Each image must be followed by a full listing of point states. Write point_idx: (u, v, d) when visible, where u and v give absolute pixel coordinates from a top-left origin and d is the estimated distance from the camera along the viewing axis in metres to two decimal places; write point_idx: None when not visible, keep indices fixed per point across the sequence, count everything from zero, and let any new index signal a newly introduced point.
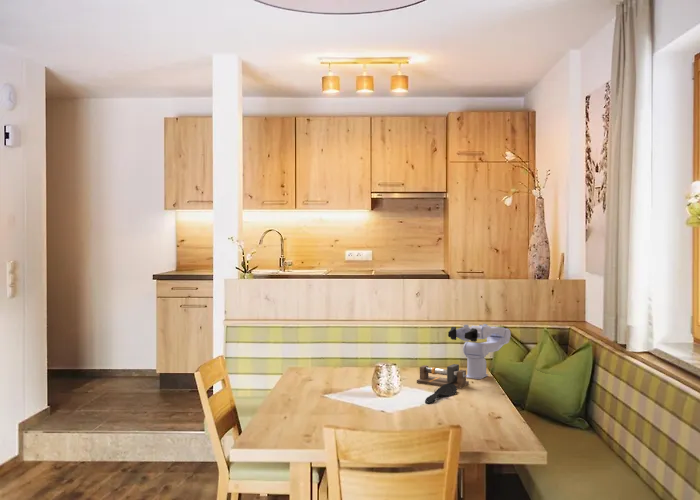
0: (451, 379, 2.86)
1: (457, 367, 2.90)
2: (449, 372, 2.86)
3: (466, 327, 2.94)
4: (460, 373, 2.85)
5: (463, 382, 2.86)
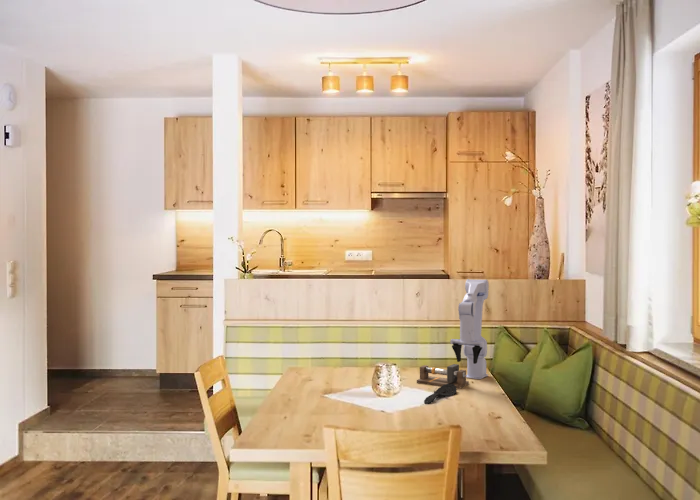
0: (451, 379, 2.86)
1: (457, 367, 2.90)
2: (449, 372, 2.86)
3: (465, 343, 2.82)
4: (460, 373, 2.85)
5: (463, 382, 2.86)
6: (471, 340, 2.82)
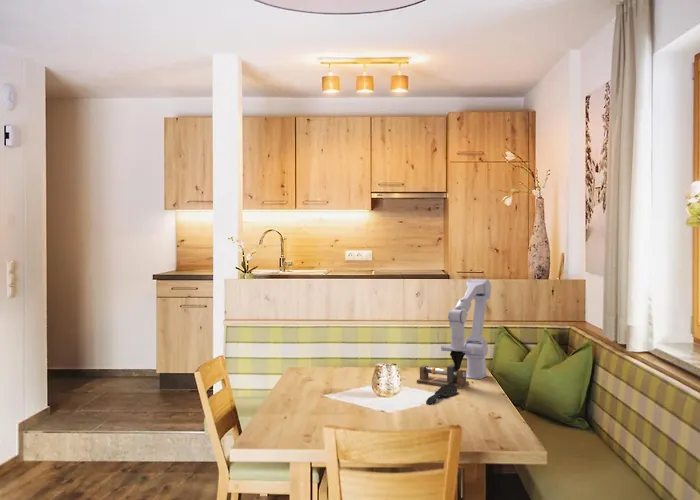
0: (451, 379, 2.86)
1: None
2: (448, 372, 2.86)
3: None
4: (460, 373, 2.85)
5: (463, 382, 2.86)
6: (461, 347, 2.85)
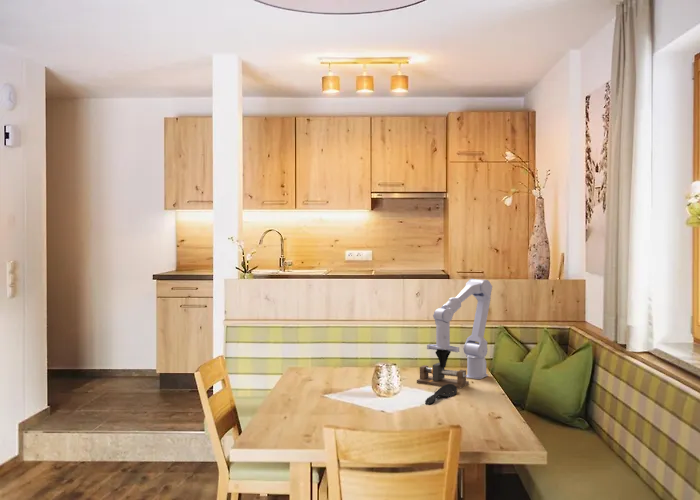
0: (436, 377, 2.90)
1: None
2: (434, 371, 2.90)
3: (440, 348, 2.89)
4: (460, 373, 2.85)
5: (463, 382, 2.86)
6: (447, 345, 2.89)
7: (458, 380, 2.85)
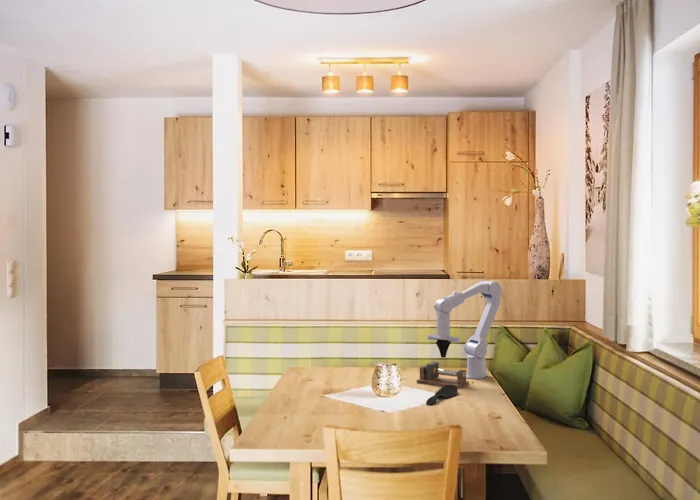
0: (431, 376, 2.91)
1: (437, 365, 2.95)
2: (428, 370, 2.92)
3: (441, 339, 2.94)
4: (460, 373, 2.85)
5: (463, 382, 2.86)
6: (447, 336, 2.94)
7: (458, 380, 2.85)
